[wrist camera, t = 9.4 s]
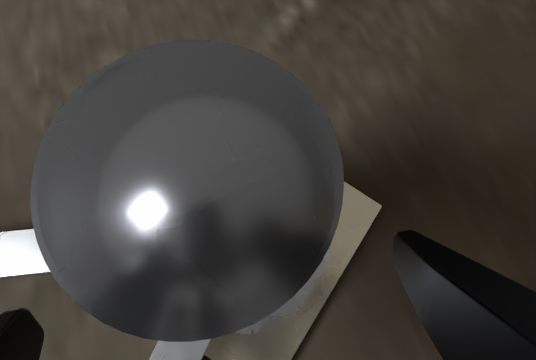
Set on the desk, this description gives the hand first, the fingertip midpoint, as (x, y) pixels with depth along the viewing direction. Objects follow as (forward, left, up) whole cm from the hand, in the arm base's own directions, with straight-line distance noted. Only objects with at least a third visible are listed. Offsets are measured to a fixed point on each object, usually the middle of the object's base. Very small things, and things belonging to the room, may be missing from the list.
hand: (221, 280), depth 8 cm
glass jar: (+1, -1, -10) cm, 10 cm away
